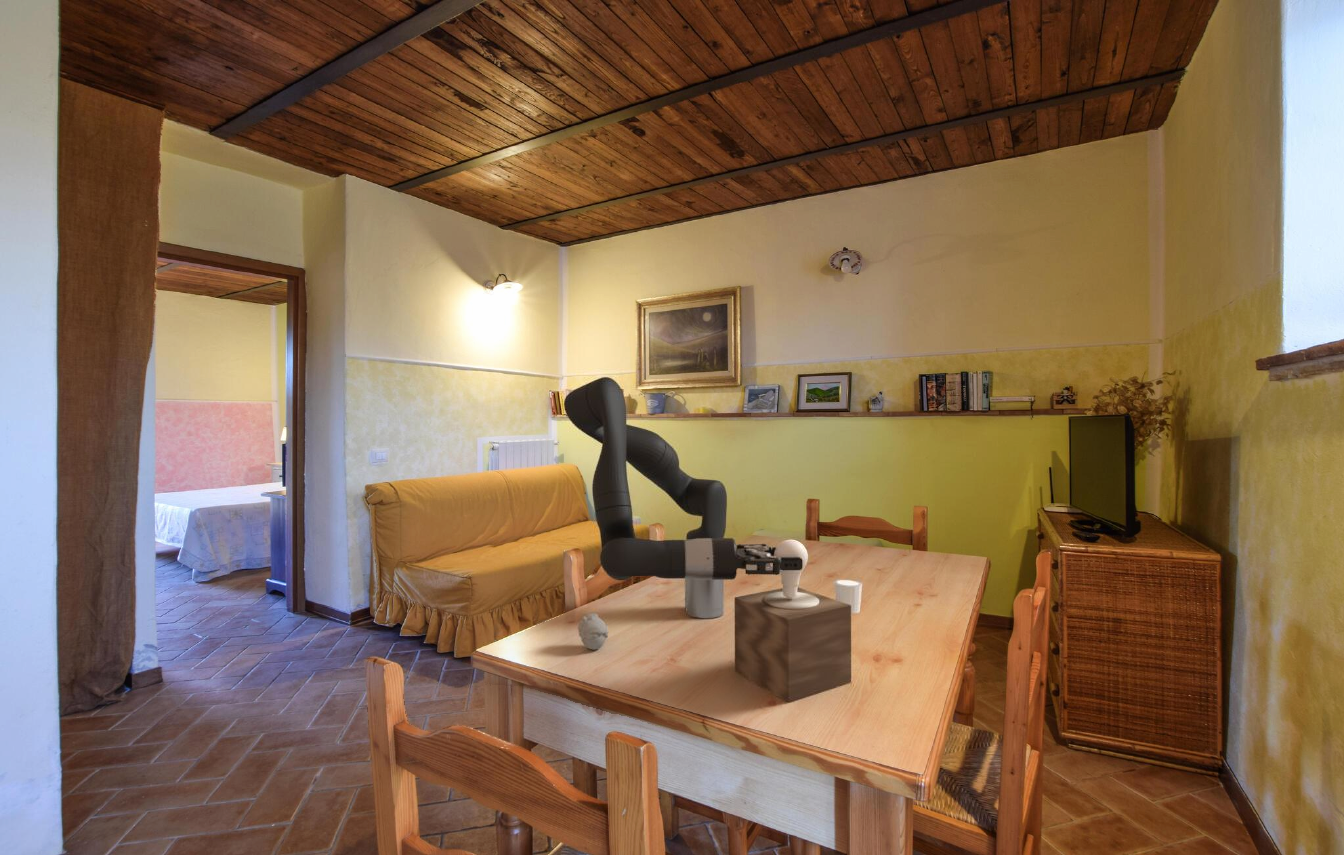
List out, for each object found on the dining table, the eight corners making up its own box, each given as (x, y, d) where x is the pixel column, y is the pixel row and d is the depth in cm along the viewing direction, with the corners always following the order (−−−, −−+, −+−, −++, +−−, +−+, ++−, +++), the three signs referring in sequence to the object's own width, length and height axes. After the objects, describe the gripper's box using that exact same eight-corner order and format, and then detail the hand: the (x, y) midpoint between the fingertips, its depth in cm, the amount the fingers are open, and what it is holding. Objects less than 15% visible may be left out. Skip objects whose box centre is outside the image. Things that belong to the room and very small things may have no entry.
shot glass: (865, 608, 149) (865, 581, 149) (858, 616, 143) (858, 587, 143) (838, 604, 152) (838, 577, 152) (830, 611, 147) (830, 583, 147)
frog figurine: (594, 640, 128) (594, 608, 127) (615, 648, 123) (615, 615, 123) (571, 648, 123) (571, 614, 123) (591, 657, 118) (591, 622, 118)
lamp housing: (734, 670, 111) (734, 595, 111) (795, 654, 119) (795, 583, 119) (788, 702, 98) (788, 617, 98) (852, 681, 106) (852, 602, 106)
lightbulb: (807, 605, 105) (808, 543, 105) (772, 602, 106) (774, 541, 106) (806, 595, 111) (807, 537, 111) (773, 593, 112) (775, 535, 112)
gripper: (712, 546, 101) (806, 545, 102) (706, 531, 116) (788, 531, 116) (712, 589, 101) (806, 588, 102) (706, 569, 116) (788, 568, 116)
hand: (796, 558), depth 109 cm, fingers open, 8 cm apart
